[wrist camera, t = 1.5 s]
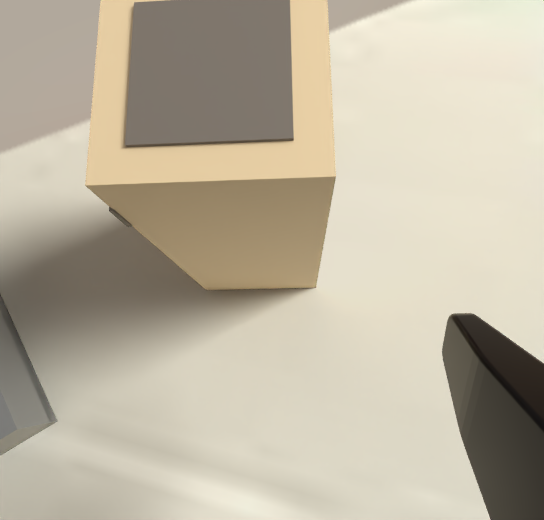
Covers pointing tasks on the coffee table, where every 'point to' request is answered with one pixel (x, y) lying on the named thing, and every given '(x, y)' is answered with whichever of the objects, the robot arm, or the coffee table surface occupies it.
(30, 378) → the tray
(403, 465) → the coffee table surface
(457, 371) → the robot arm
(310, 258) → the kraft box
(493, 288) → the coffee table surface
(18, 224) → the coffee table surface
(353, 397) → the coffee table surface
